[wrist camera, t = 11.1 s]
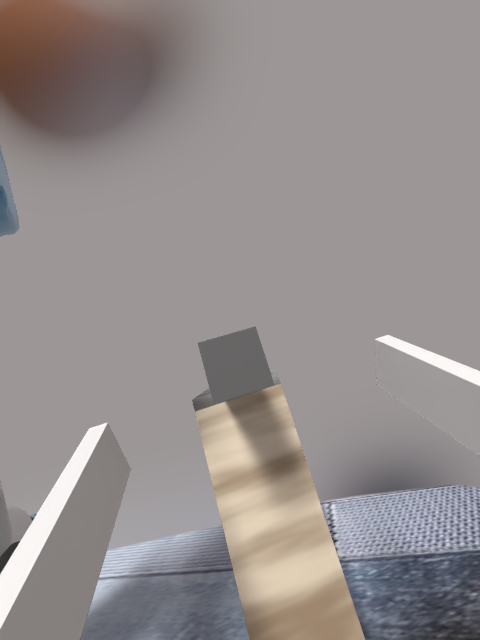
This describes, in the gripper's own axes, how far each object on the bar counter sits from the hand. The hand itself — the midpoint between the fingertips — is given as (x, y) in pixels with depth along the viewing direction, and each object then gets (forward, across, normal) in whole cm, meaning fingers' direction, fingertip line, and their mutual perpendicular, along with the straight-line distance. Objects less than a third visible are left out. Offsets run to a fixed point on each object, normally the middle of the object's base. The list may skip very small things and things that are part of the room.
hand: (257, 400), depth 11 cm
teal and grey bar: (+12, -1, -6) cm, 14 cm away
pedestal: (+1, 0, -35) cm, 35 cm away
